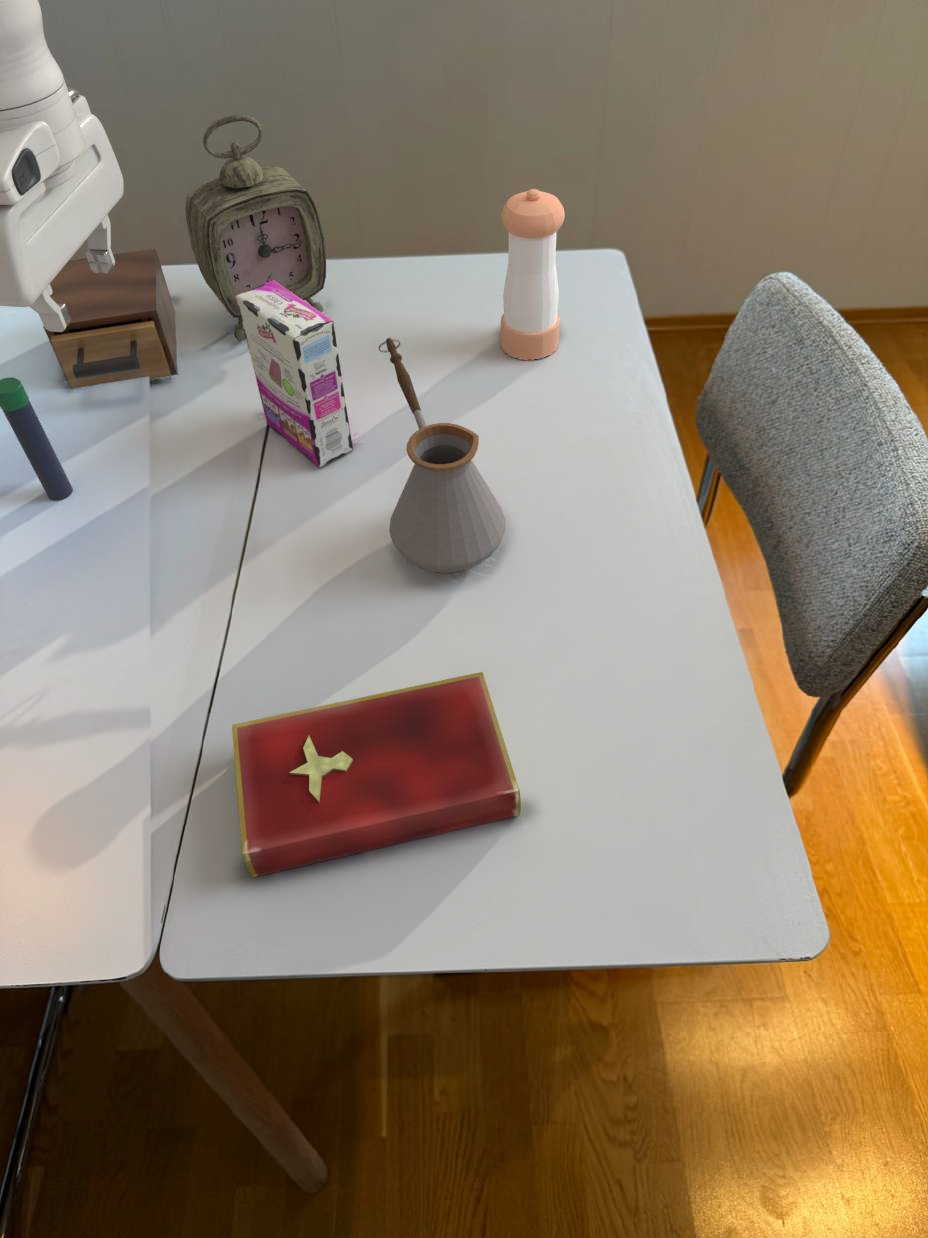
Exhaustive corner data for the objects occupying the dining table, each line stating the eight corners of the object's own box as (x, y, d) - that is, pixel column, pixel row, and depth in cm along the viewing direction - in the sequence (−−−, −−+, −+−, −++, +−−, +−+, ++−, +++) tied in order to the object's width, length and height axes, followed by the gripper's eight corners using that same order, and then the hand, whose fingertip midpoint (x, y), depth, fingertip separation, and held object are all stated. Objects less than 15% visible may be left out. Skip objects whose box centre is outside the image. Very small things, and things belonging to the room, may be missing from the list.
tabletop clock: (233, 351, 114) (177, 145, 95) (208, 318, 119) (151, 116, 100) (336, 316, 118) (303, 113, 99) (308, 286, 123) (272, 87, 104)
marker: (51, 512, 96) (-11, 396, 84) (53, 496, 97) (-8, 379, 86) (77, 508, 96) (19, 391, 85) (78, 491, 98) (21, 374, 86)
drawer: (171, 400, 106) (153, 349, 101) (70, 416, 105) (47, 366, 99) (168, 316, 118) (153, 267, 113) (78, 330, 116) (58, 280, 111)
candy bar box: (356, 450, 101) (336, 319, 88) (320, 470, 99) (293, 339, 86) (300, 405, 106) (273, 276, 94) (264, 423, 104) (232, 294, 92)
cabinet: (177, 374, 111) (156, 309, 104) (71, 390, 110) (43, 326, 103) (175, 310, 120) (155, 247, 114) (77, 325, 119) (51, 262, 112)
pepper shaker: (489, 350, 112) (487, 196, 97) (518, 321, 116) (521, 169, 101) (541, 367, 109) (547, 212, 95) (569, 337, 113) (578, 183, 99)
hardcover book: (520, 819, 71) (520, 793, 68) (254, 881, 68) (242, 857, 65) (483, 698, 79) (482, 669, 75) (242, 750, 76) (230, 722, 73)
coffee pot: (523, 567, 88) (526, 447, 77) (413, 601, 86) (399, 482, 74) (448, 439, 101) (441, 320, 90) (351, 465, 99) (330, 347, 87)
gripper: (40, 76, 75) (97, 236, 86) (-91, 189, 62) (-6, 361, 73) (112, 78, 74) (159, 239, 85) (-6, 193, 61) (67, 366, 72)
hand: (82, 297), depth 79 cm, fingers open, 8 cm apart
